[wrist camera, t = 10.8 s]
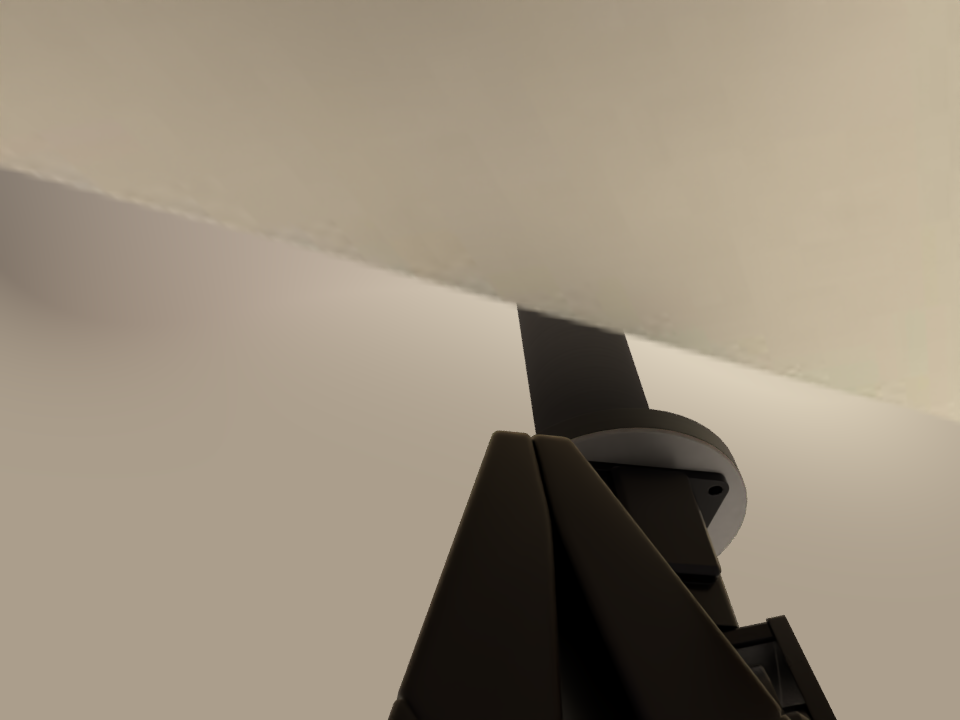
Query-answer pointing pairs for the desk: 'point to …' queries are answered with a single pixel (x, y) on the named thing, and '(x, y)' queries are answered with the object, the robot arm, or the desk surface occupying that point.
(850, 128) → the desk surface
